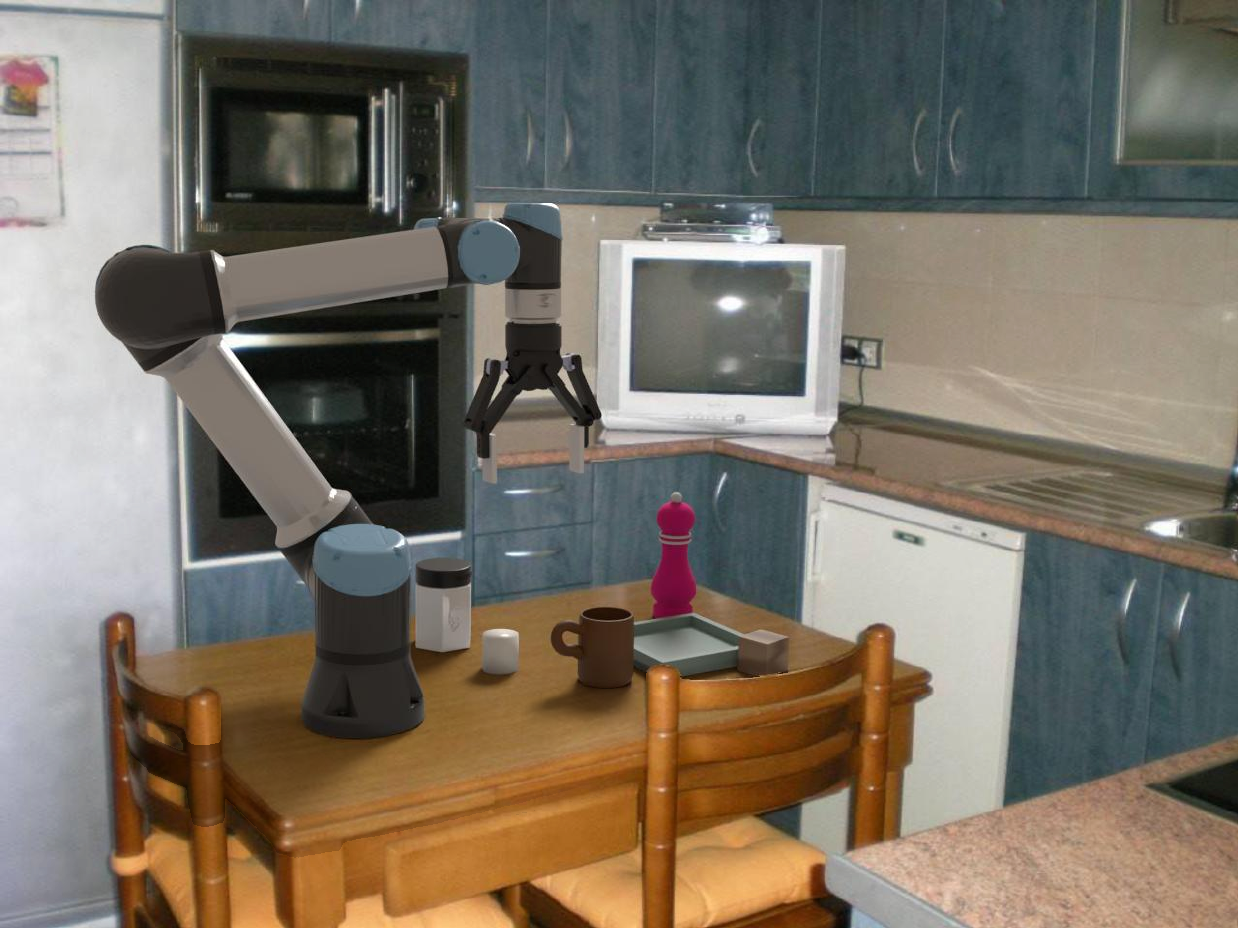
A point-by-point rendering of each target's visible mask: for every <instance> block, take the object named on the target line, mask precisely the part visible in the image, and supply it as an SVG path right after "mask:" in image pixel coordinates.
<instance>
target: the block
mask: <svg viewBox="0 0 1238 928" xmlns="http://www.w3.org/2000/svg"><path fill="white" fill-rule="evenodd" d="M743 634H744V633H743ZM789 644H790V636H786V635H783V634H780V633H776V632H772V631H769V630H764V629H758V630H754V631H752V632H748V633H745V634H744V635H741V636H739V644H738V666H737V668H736V669H737V671H739V672H743V673H745V674H750V675H752V676H756V677H759V675H767V674H773V673H778V672H783V673H785V672H788V669H789V649H790V648H789V647H790V645H789Z"/></svg>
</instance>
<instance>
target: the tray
mask: <svg viewBox="0 0 1238 928" xmlns="http://www.w3.org/2000/svg"><path fill="white" fill-rule="evenodd" d="M741 635H744V633H742V632H740V631H738V630H735V629H732V628H730V627H728V626H726V625H724V624H721V623H719V622H716V621H715V620H711V619H709V618H708V617H705V616H703V615H700V614H698V613H695V612H693V613H689V614H683V615H676V616H670V617H664V618H658V619H657V618H653V619H646V620H641V621H640V620H639V621H634V657H633V665H634V666H633V667H635V666H636V667H635V668H637V669H639V670H641V671H643V672H645V673H647V672H646V671H647V670H648V669H649V668H650V667H652V666H655V665H660V664H666V665H670V666H673V667H675V668H677V669H678V670H679V672H680V674H681V677H680V678H682V677H685V676H693V675H698V674H704V673H709V672H714V671H719V670H724V669H729V668H736V667H738V644H739V636H741Z"/></svg>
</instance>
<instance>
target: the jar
mask: <svg viewBox="0 0 1238 928" xmlns="http://www.w3.org/2000/svg"><path fill="white" fill-rule="evenodd" d="M414 567H415V571H414V573H415V648H417V649H420V650H421V649H422V650H427V651H430V652H431V651H432V652H436V653H437V652H438V653H447V652H453V651H460V650H464V649H469V648H470V647H471V638H472V637H471V633H472V632H471V630H472V629H471V628H472V626H471V625H472V623H471V622H472V617H471V616H472V611H471V610H472V609H471V608H472V604H471V603H472V597H471V596H472V592H471V591H472V577H473V570H472V563H471V562H470V561H468V560H466V559H462V558H457V557H456V558H455V557H433V558H432V557H431V558H426V559H422V560H420V561H418V562H416V564H415V566H414Z"/></svg>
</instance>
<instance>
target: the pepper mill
mask: <svg viewBox="0 0 1238 928" xmlns="http://www.w3.org/2000/svg"><path fill="white" fill-rule="evenodd" d="M670 500H671V501H669V502H666V503H664V504H662V505H661V506H660V507H659V508H658V511H657V513H656V523H657V526H658V527H659V529H660V531H659V538H658V540H659V542H660V543H661V558H660V562H659V564H658V567H657V569H656V571H655V572H654V575H653V577H652V581H651V585H650V594H651V596H652V597H653V599H654V600H655V601H656V602H654V604H653V607H652V616H653V617H654V619H658V618H664V617H670V616H676V615H683V614H689V613H694V612H693V611H694V610H693V609H694V608H693V605H692V604H691V601H692V600H693V599H694V598H695V597H696V595H697V583H696V578H695V575H694V573H693V571H692V569H691V565H690V562H689V556H688V547H689V544H690V543H691V542H692V538H691V537H692V533H691V532H690V531H691V529H692V528H693V527H694V525H695V523H696V515H695V511H694V510H693V508H692V507H691V506H690V505H689V504H688V503H686V502H682V500H683V495H682V494H681V493H680V492H678V491H674V492H673V493H672V494H671V495H670Z"/></svg>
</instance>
